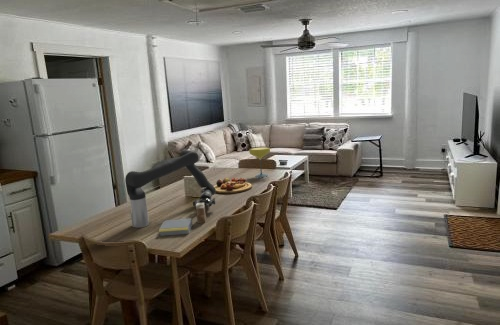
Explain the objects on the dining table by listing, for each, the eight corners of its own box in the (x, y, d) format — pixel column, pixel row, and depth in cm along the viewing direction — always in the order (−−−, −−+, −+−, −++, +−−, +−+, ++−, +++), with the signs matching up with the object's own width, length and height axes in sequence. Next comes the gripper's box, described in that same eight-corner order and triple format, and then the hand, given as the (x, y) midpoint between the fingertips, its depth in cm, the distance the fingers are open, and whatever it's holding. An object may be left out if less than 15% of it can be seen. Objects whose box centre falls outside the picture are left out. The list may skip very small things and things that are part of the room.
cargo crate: (197, 222, 226) (195, 205, 224) (198, 220, 231) (196, 203, 228) (205, 222, 226) (203, 204, 224) (206, 219, 230) (204, 202, 228)
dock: (159, 236, 209) (158, 229, 208) (165, 226, 224) (164, 220, 223) (188, 234, 209) (187, 227, 208) (192, 224, 223) (191, 218, 223)
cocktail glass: (247, 177, 333) (245, 149, 328) (258, 173, 347) (256, 146, 342) (264, 179, 322) (262, 150, 318) (275, 174, 337) (273, 146, 332)
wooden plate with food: (243, 195, 280) (243, 184, 278) (204, 193, 290) (204, 183, 289) (257, 184, 309) (256, 174, 308) (221, 183, 320) (220, 174, 318)
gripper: (194, 193, 253) (191, 200, 237) (215, 192, 253) (213, 198, 237) (195, 204, 255) (192, 212, 239) (216, 202, 254) (214, 210, 238)
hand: (203, 205), depth 238 cm, fingers open, 8 cm apart
